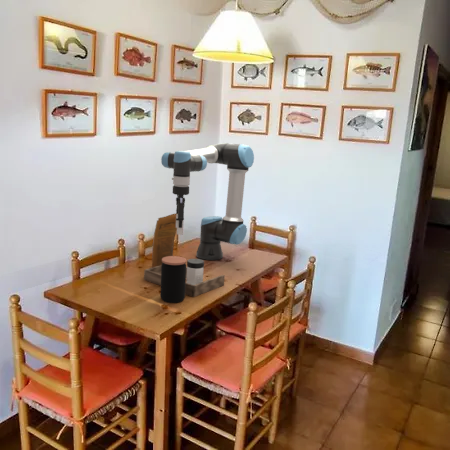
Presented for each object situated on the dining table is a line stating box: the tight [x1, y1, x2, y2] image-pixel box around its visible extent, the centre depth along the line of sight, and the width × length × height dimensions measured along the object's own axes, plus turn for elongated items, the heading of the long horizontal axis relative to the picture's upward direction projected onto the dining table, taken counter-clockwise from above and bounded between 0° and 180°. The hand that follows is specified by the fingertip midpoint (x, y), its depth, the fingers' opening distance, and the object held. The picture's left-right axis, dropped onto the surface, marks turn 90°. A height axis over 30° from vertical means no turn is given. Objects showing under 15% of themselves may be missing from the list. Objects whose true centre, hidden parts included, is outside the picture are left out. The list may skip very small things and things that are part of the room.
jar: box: [186, 258, 205, 285], centre depth 221 cm, size 9×8×12 cm
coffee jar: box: [160, 255, 188, 304], centre depth 200 cm, size 11×11×18 cm
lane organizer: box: [143, 265, 225, 298], centre depth 224 cm, size 22×32×5 cm
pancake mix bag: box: [151, 212, 177, 268], centre depth 244 cm, size 7×19×28 cm, turn 144°
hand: (179, 231), depth 215 cm, fingers open, 13 cm apart
